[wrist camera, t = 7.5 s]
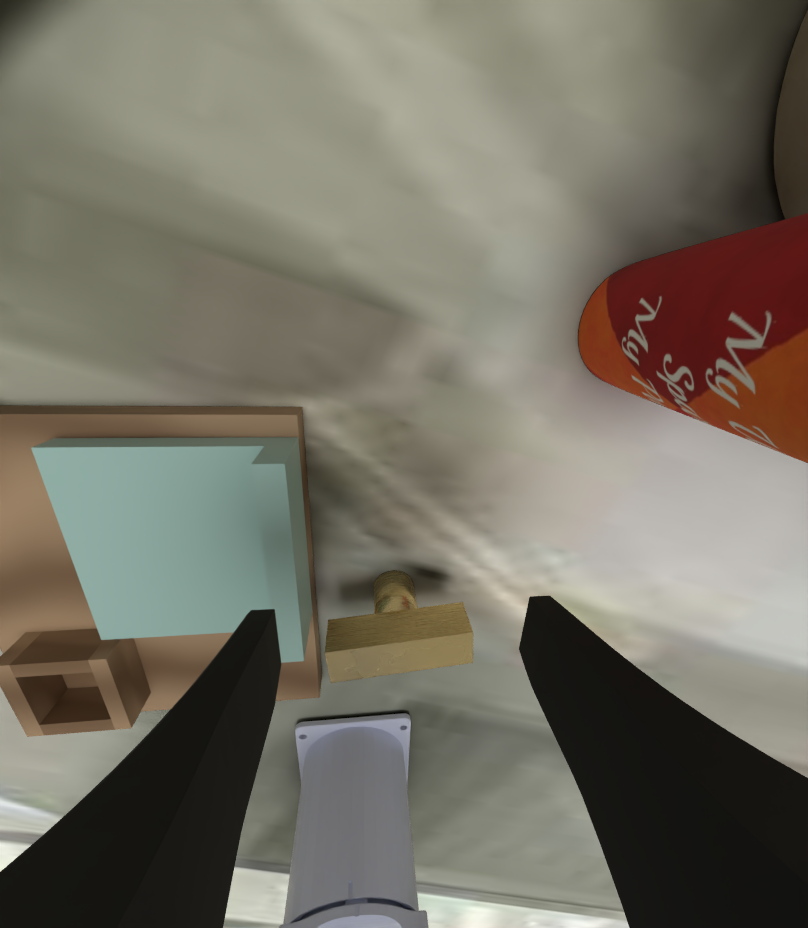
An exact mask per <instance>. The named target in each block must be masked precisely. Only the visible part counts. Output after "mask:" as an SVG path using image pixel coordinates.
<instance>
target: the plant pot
mask: <svg viewBox="0 0 808 928" xmlns="http://www.w3.org/2000/svg"><path fill="white" fill-rule="evenodd" d="M774 172H775V182H776V187H777V191H778V196H779V200H780V204H781V208H782V212H783V215H784V217H785V219H789V218H792V217H796V216H799V215H803V214H807V213H808V10H807V12H806V15H805V17H804V19H803V21H802V24H801V26H800V29H799V32H798V35H797V37H796V40H795V43H794V46H793V49H792V52H791V55H790V58H789V61H788V65H787V69H786V73H785V77H784V81H783V85H782V90H781V94H780V99H779V104H778V108H777V116H776V127H775V137H774Z"/></svg>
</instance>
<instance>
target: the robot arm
mask: <svg viewBox="0 0 808 928" xmlns="http://www.w3.org/2000/svg"><path fill="white" fill-rule="evenodd" d="M519 650H520V653H521V657H522V660H523V663H524V666H525V669H526V672H527V675H528V677H529V680H530V683H531V686H532V688H533V690H534V693H535V695H536V697H537V699H538V701H539V703H540V706H541V708H542V710H543V712H544V714H545V716H546V719H547V721H548V723H549V725H550V727H551V729H552V731H553V733H554V735H555V738H556V740H557V742H558V744H559V746H560V748H561V750H562V752H563V755H564V757H565V759H566V761H567V763H568V765H569V767H570V769H571V772H572V774H573V776H574V778H575V781H576V783H577V785H578V787H579V790H580V792H581V794H582V797H583V799H584V802H585V805H586V807H587V810H588V813H589V815H590V818H591V821H592V823H593V826H594V829H595V831H596V834H597V836H598V839H599V842H600V844H601V847H602V850H603V853H604V856H605V858H606V861H607V864H608V867H609V870H610V872H611V875H612V878H613V881H614V884H615V886H616V889H617V892H618V895H619V898H620V900H621V903H622V906H623V909H624V912H625V915H626V918H627V921H628V924H629V927H630V928H808V778H807V777H805V776H803V775H801V774H800V773H798V772H796V771H794V770H793V769H791V768H789V767H787V766H785V765H784V764H782V763H780V762H778V761H777V760H775V759H773V758H772V757H770V756H768V755H767V754H765V753H763V752H762V751H760V750H758V749H757V748H755V747H753V746H752V745H750V744H748V743H747V742H745V741H743V740H742V739H740V738H738V737H737V736H735V735H734V734H732V733H730V732H729V731H727V730H726V729H724V728H722V727H721V726H719V725H718V724H716V723H715V722H713V721H712V720H710V719H709V718H707V717H706V716H704V715H703V714H701V713H700V712H698V711H697V710H695V709H694V708H692V707H691V706H689V705H688V704H686V703H685V702H683V701H682V700H680V699H679V698H678V697H676V696H675V695H673V694H672V693H670V692H669V691H668V690H666V689H665V688H664V687H662V686H661V685H660V684H658V683H657V682H656V681H654V680H653V679H652V678H650V677H649V676H648V675H646V674H645V673H644V672H642V671H641V670H640V669H638V668H637V667H636V666H634V665H633V664H632V663H631V662H629V661H628V660H627V659H625V658H624V657H623V656H622V655H620V654H619V653H618V652H617V651H615V650H614V649H613V648H612V647H611V646H609V645H608V644H607V643H606V642H604V641H603V640H602V639H601V638H600V637H598V636H597V635H596V634H595V633H594V632H592V631H591V630H590V629H589V628H588V627H587V626H585V625H584V624H583V623H582V622H581V621H579V620H578V619H577V618H576V617H575V616H574V615H572V614H571V613H570V612H569V611H568V610H566V609H565V608H564V607H563V606H562V605H561V604H559V603H558V602H557V601H556V600H554V599H553V598H552V597H551V596H534V597H530V598H529V603H528V608H527V613H526V617H525V622H524V627H523V632H522V637H521V642H520V647H519ZM280 670H281V656H280V648H279V640H278V632H277V624H276V616H275V609H263V610H251V611H250V612H249V613H248V614H247V615H246V616H245V618H244V619H243V620H242V622H241V623H240V625H239V626H238V627H237V629H236V630H235V631H234V633H233V634H232V635H231V637H230V638H229V639H228V641H227V642H226V643H225V645H224V646H223V647H222V648H221V650H220V651H219V652H218V654H217V655H216V656H215V657H214V659H213V660H212V661H211V662H210V664H209V665H208V666H207V667H206V668H205V670H204V671H203V672H202V673H201V675H200V676H199V677H198V678H197V680H196V681H195V682H194V683H193V684H192V686H191V687H190V688H189V689H188V690H187V691H186V693H185V694H184V695H183V696H182V697H181V698H180V699H179V700H178V702H177V703H176V704H175V705H174V706H173V707H172V708H171V710H170V711H169V712H168V713H167V714H166V715H165V716H164V717H163V719H162V720H161V721H160V722H159V723H158V724H157V725H156V726H155V727H154V728H153V729H152V731H151V732H150V733H149V734H148V735H147V736H146V737H145V738H144V739H143V740H142V741H141V742H140V743H139V744H138V745H137V746H136V747H135V748H134V749H133V750H132V751H131V752H130V753H129V754H128V755H127V756H126V757H125V759H124V760H123V761H122V762H121V763H120V764H119V765H118V766H117V767H116V768H115V769H114V770H113V771H112V772H111V773H109V774H108V775H107V776H106V777H105V778H104V779H103V780H102V781H101V782H100V783H99V784H98V785H97V786H96V787H95V788H94V789H93V790H92V791H91V792H90V793H88V794H87V795H86V796H85V797H84V798H83V799H82V800H81V801H80V802H79V803H78V804H77V805H76V806H75V807H74V808H73V809H72V810H70V811H69V812H68V813H67V814H66V815H65V816H64V817H63V818H62V819H61V820H60V821H58V822H57V823H56V824H55V825H54V826H53V827H52V828H51V829H50V830H48V831H47V832H46V833H45V834H44V835H43V836H42V837H40V838H39V839H38V840H37V841H36V842H35V843H34V844H32V845H31V846H30V847H29V848H28V849H27V850H25V851H24V852H23V853H22V854H21V855H20V856H18V857H17V858H16V859H15V860H14V861H13V862H11V863H10V864H9V865H8V866H7V867H6V868H4V869H3V870H2V871H1V872H0V928H223V924H224V919H225V913H226V908H227V902H228V897H229V891H230V886H231V881H232V876H233V871H234V866H235V860H236V855H237V850H238V845H239V840H240V835H241V831H242V826H243V822H244V818H245V814H246V810H247V806H248V802H249V798H250V795H251V791H252V787H253V784H254V780H255V776H256V773H257V769H258V765H259V762H260V758H261V754H262V751H263V747H264V743H265V740H266V736H267V732H268V729H269V725H270V721H271V717H272V714H273V710H274V706H275V700H276V695H277V689H278V683H279V676H280ZM410 727H411V720H410V716H409V715H408V714H406V713H401V714H389V715H378V716H366V717H354V718H342V719H331V720H319V721H307V722H300V723H298V724H297V725H296V729H295V737H296V745H297V753H298V761H299V770H300V778H301V791H300V799H299V807H298V815H297V823H296V830H295V838H294V846H293V854H292V861H291V869H290V877H289V885H288V893H287V900H286V908H285V916H284V924H283V925H280V926H279V928H428V920H427V912H426V911H419V908H418V898H417V887H416V877H415V866H414V856H413V845H412V835H411V824H410V814H409V803H408V793H407V782H408V764H409V745H410Z"/></svg>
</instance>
